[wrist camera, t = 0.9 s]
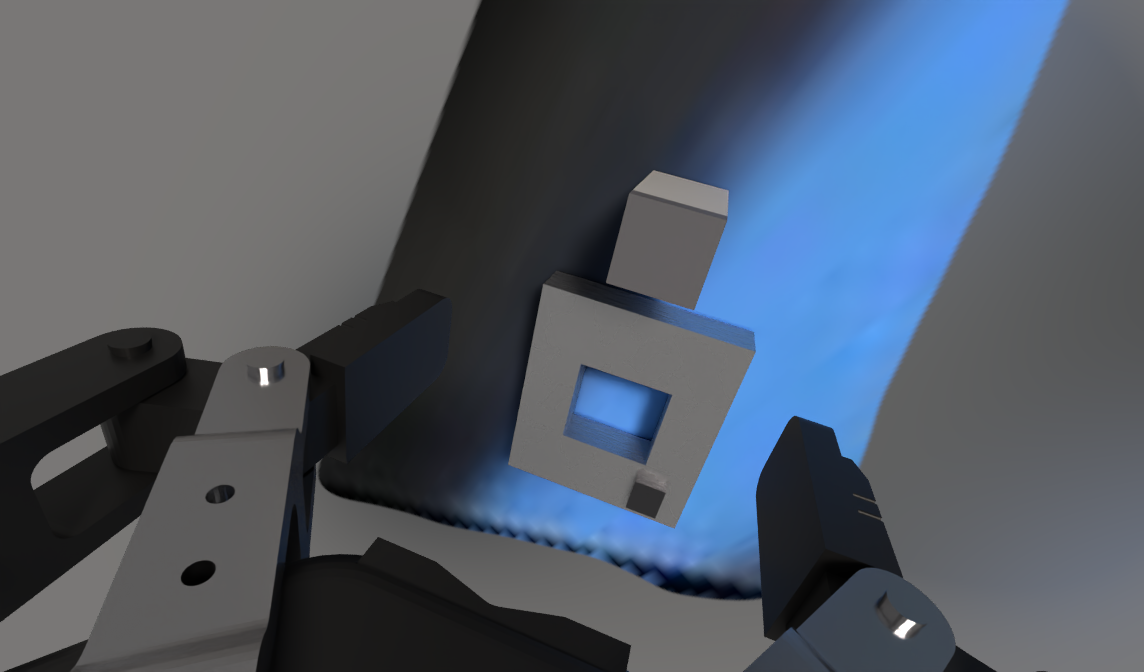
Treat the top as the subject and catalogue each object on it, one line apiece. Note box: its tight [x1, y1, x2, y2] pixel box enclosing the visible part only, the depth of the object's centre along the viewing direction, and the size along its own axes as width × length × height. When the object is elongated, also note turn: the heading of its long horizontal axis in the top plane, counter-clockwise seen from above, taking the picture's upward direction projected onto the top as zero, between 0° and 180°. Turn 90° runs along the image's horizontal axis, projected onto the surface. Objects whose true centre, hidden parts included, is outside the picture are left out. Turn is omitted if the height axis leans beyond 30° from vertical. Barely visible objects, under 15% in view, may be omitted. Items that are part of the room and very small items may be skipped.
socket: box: [508, 271, 756, 528], centre depth 31 cm, size 14×12×3 cm
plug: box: [606, 170, 729, 310], centre depth 24 cm, size 4×4×7 cm
